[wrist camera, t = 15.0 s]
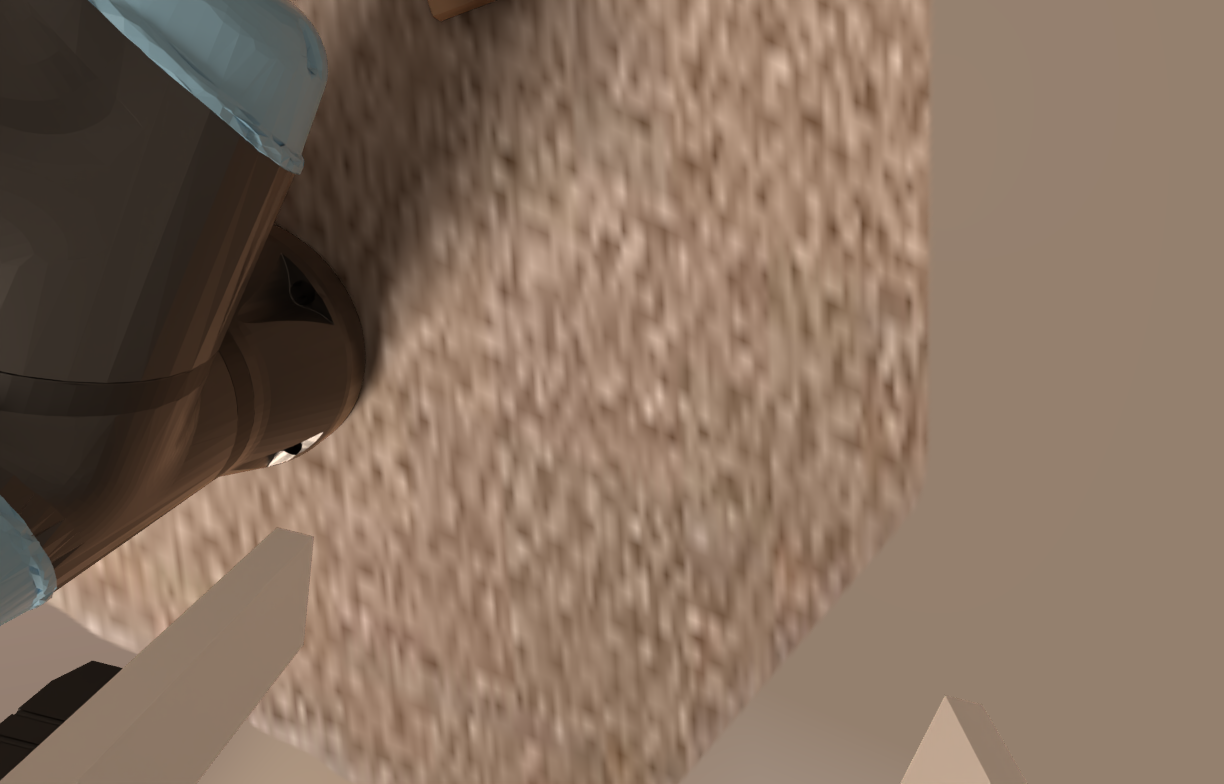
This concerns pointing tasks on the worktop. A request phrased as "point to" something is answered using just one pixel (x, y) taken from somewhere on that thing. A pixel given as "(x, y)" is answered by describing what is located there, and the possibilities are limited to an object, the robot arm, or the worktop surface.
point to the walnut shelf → (453, 7)
